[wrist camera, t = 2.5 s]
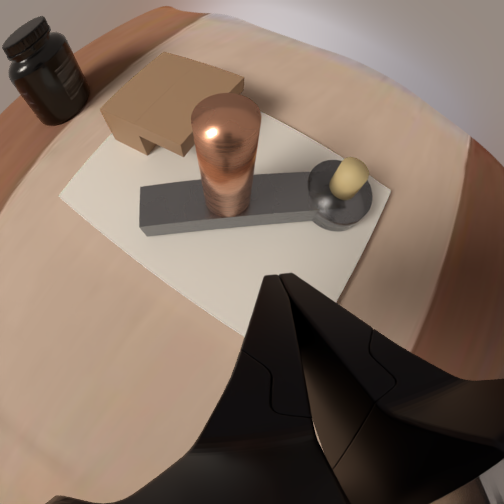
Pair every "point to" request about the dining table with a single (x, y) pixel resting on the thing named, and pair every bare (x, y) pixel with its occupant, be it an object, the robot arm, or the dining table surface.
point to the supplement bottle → (46, 72)
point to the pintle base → (186, 168)
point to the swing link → (243, 181)
